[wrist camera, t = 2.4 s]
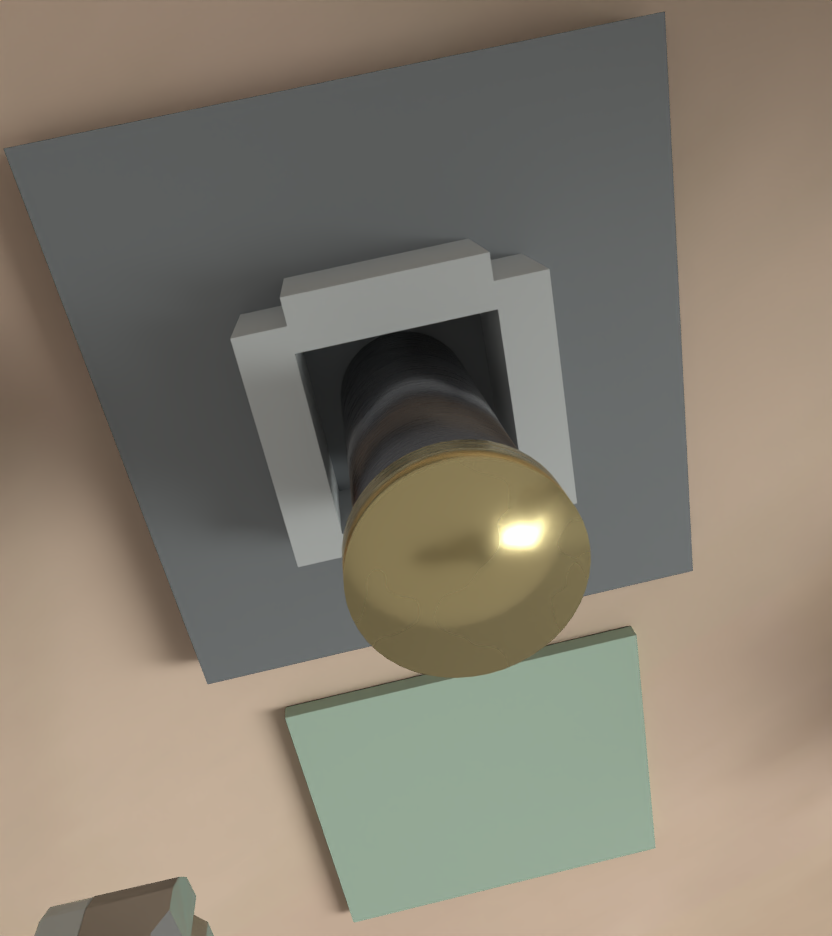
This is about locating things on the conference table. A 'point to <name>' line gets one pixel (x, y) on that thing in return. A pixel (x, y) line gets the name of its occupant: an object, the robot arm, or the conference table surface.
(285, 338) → the grey flat square block
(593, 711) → the rubber mat
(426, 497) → the black and gold cylinder
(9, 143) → the conference table surface
